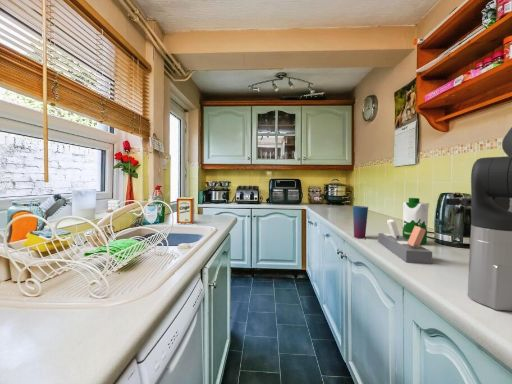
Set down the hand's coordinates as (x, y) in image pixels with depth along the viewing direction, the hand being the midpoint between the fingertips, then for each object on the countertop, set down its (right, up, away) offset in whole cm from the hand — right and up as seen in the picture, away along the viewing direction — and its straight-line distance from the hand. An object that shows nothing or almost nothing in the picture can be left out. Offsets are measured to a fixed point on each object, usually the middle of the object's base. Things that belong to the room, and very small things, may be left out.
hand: (445, 201), depth 86 cm
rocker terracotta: (-10, -16, +2) cm, 19 cm away
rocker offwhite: (-8, -15, +16) cm, 24 cm away
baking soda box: (-110, -16, +71) cm, 132 cm away
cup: (-15, -19, +35) cm, 42 cm away
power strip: (-8, -20, +15) cm, 26 cm away
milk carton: (+5, -20, +25) cm, 32 cm away
